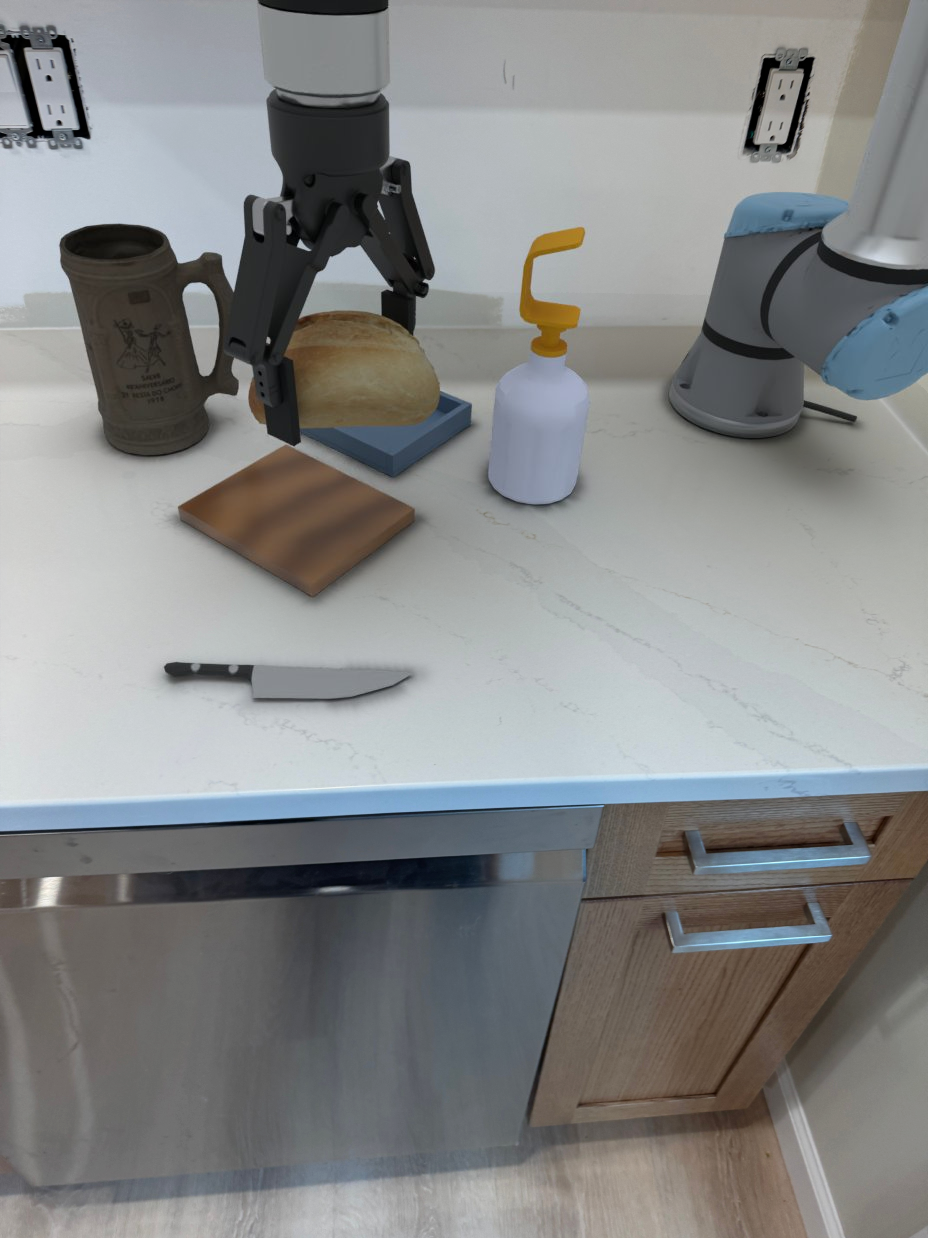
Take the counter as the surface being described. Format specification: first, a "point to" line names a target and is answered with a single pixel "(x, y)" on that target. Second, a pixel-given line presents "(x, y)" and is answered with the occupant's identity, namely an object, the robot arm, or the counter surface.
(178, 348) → the beer stein
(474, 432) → the counter surface
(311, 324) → the bread roll
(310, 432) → the soap tray
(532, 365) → the soap bottle
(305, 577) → the bread board
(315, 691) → the chef's knife
